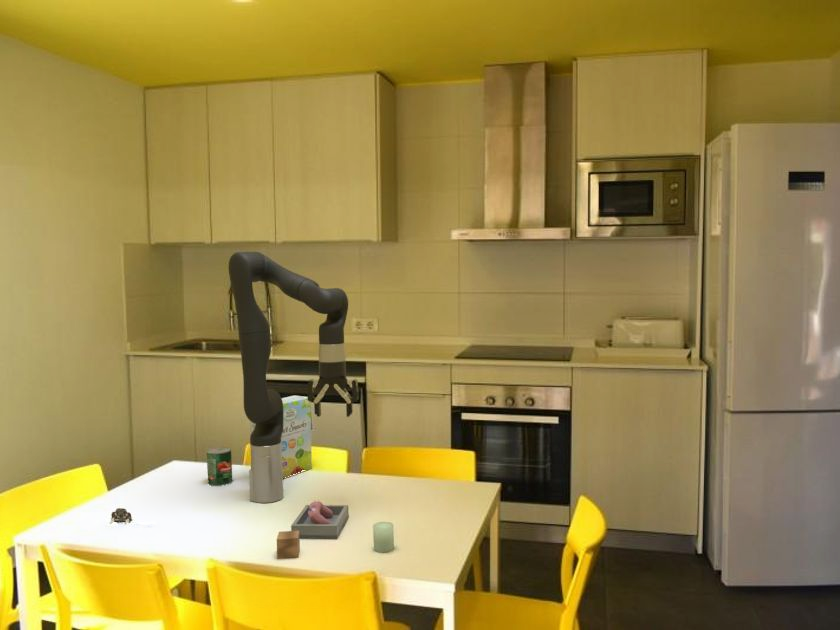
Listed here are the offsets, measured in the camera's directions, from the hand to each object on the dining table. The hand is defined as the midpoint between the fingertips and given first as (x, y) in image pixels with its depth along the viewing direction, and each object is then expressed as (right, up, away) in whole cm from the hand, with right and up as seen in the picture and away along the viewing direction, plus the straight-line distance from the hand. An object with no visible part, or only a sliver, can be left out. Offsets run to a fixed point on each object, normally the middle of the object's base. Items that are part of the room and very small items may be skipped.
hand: (333, 416), depth 204 cm
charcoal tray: (-2, -29, -10) cm, 30 cm away
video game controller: (-2, -28, -9) cm, 29 cm away
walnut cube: (-8, -30, -27) cm, 41 cm away
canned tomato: (-42, -27, +34) cm, 60 cm away
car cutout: (-55, -30, -2) cm, 63 cm away
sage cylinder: (+15, -29, -25) cm, 42 cm away
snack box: (-22, -26, +40) cm, 53 cm away
